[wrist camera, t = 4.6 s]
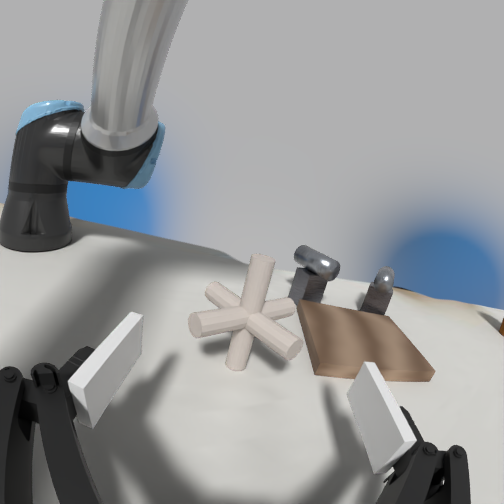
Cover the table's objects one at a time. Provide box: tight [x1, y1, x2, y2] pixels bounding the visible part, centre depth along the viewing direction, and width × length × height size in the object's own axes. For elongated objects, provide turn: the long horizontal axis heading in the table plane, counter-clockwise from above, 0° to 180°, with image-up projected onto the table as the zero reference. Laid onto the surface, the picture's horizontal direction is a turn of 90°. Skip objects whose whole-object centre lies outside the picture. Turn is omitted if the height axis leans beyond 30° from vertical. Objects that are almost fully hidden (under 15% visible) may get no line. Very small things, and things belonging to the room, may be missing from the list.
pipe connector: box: [188, 254, 303, 371], centre depth 22 cm, size 10×10×10 cm
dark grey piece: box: [360, 266, 394, 315], centre depth 40 cm, size 7×4×8 cm, turn 149°
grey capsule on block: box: [288, 245, 340, 306], centre depth 40 cm, size 7×4×8 cm, turn 28°
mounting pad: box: [297, 299, 435, 382], centre depth 31 cm, size 15×15×2 cm
